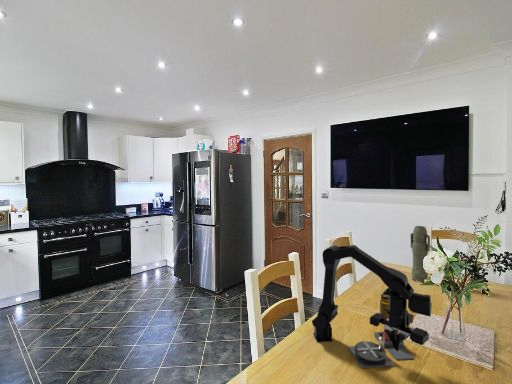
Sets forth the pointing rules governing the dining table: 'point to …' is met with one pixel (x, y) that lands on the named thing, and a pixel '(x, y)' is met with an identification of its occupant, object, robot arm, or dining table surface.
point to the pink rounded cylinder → (386, 337)
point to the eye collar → (387, 343)
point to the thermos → (419, 252)
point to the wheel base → (370, 364)
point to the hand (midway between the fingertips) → (397, 350)
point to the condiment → (384, 305)
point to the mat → (400, 353)
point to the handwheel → (371, 350)
